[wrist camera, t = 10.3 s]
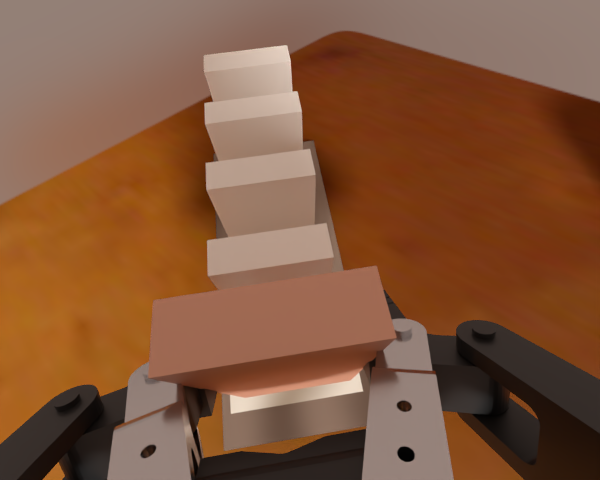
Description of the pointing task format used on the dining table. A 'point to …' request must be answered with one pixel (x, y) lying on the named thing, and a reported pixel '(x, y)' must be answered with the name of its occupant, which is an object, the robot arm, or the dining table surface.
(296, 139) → the domino
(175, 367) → the domino
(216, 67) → the domino
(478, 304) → the dining table surface
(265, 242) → the domino
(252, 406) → the domino board
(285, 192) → the domino
